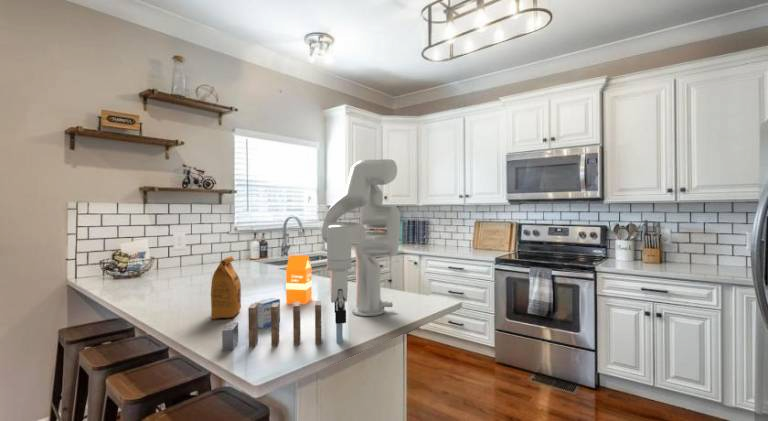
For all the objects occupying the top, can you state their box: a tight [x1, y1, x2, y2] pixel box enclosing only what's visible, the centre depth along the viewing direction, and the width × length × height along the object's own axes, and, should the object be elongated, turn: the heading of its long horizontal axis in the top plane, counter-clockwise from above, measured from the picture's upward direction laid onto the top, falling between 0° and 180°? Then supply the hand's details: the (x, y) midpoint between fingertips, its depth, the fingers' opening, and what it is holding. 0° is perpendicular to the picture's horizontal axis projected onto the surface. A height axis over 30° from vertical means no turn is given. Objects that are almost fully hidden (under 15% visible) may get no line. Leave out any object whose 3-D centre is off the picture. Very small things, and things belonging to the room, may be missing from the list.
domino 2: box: [270, 302, 280, 348], centre depth 118 cm, size 2×5×12 cm, turn 9°
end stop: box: [221, 321, 239, 352], centre depth 116 cm, size 3×7×6 cm, turn 9°
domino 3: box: [292, 302, 302, 346], centre depth 119 cm, size 2×5×12 cm, turn 9°
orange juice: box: [285, 254, 313, 305], centre depth 168 cm, size 8×9×20 cm
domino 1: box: [247, 302, 259, 349], centre depth 117 cm, size 2×5×12 cm, turn 9°
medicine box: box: [254, 297, 281, 330], centre depth 136 cm, size 8×4×9 cm, turn 148°
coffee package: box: [210, 255, 242, 320], centre depth 148 cm, size 10×12×22 cm
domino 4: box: [314, 300, 322, 345], centre depth 120 cm, size 2×5×12 cm, turn 9°
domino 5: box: [335, 303, 344, 344], centre depth 121 cm, size 2×5×12 cm, turn 9°
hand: (340, 317), depth 122 cm, fingers open, 9 cm apart
